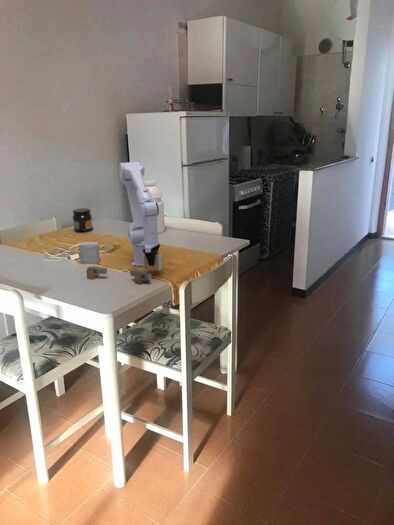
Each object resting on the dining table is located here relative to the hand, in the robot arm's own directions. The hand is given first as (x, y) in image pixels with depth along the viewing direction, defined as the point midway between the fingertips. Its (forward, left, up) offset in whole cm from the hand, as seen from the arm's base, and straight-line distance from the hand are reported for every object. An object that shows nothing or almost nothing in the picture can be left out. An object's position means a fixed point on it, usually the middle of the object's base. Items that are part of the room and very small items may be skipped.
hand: (152, 263), depth 175 cm
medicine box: (-10, -33, -5) cm, 35 cm away
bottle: (-62, -21, -5) cm, 66 cm away
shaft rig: (+8, -12, -5) cm, 15 cm away
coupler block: (0, 0, -2) cm, 2 cm away
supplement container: (-59, -61, -5) cm, 85 cm away
